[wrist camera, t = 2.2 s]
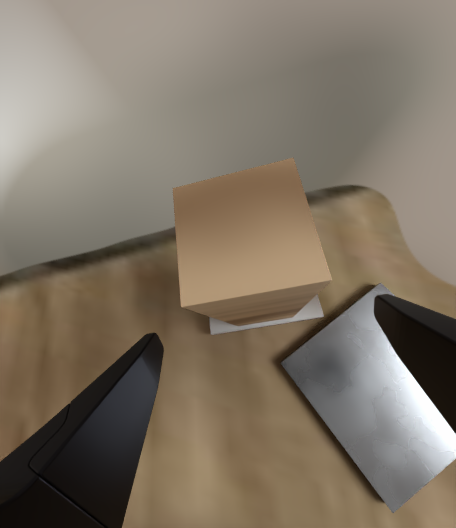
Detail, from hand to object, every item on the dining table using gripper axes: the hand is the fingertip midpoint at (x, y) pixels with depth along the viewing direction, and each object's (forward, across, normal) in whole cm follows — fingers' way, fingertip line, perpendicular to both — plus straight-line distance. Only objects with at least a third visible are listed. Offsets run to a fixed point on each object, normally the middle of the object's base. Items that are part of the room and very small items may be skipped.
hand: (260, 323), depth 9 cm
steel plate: (+4, -7, +10) cm, 13 cm away
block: (+9, 0, +5) cm, 10 cm away
